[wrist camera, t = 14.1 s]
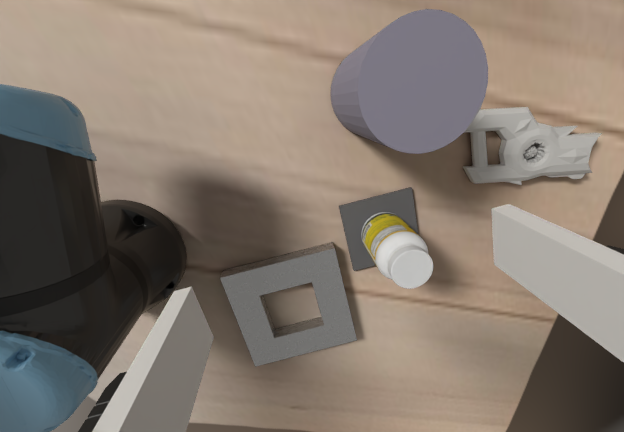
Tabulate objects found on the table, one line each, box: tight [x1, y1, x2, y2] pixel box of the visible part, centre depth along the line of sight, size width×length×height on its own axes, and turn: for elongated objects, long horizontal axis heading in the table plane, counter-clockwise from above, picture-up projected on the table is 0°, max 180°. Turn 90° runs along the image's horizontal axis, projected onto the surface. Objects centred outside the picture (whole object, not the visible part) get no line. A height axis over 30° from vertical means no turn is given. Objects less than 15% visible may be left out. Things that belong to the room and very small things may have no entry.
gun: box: [463, 107, 602, 185], centre depth 41 cm, size 18×3×10 cm
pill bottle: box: [361, 212, 433, 289], centre depth 39 cm, size 6×6×11 cm
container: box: [331, 9, 488, 154], centre depth 32 cm, size 10×10×15 cm
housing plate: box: [220, 242, 357, 367], centre depth 47 cm, size 16×16×2 cm
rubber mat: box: [339, 187, 418, 271], centre depth 44 cm, size 10×10×1 cm
